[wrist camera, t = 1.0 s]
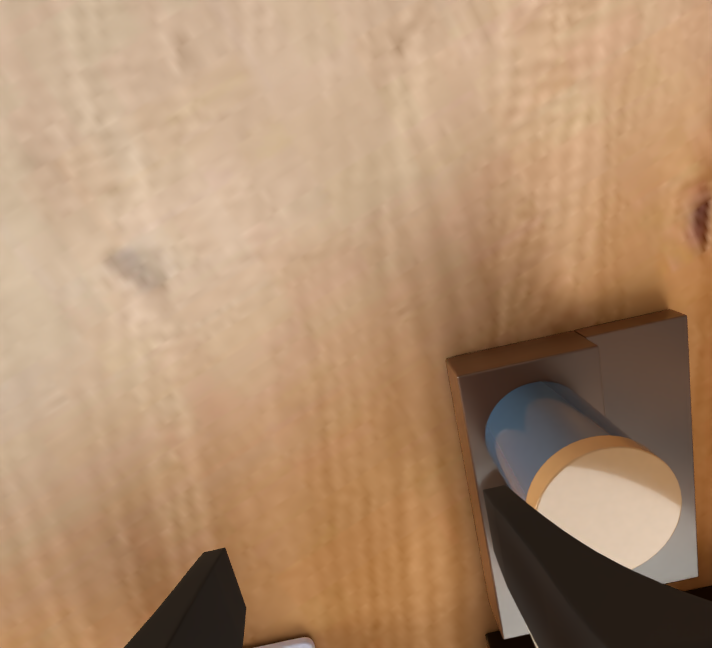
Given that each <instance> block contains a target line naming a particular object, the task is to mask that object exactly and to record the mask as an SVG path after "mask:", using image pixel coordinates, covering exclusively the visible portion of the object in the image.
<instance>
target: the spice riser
mask: <svg viewBox="0 0 712 648" xmlns="http://www.w3.org/2000/svg"><path fill="white" fill-rule="evenodd" d="M446 366H447V371H448V377H449V383H450V388H451V394H452V399H453V405H454V410H455V416H456V422H457V427H458V433H459V438H460V444H461V449H462V455H463V461H464V466H465V472H466V477H467V483H468V488H469V494H470V500H471V505H472V511H473V516H474V522H475V527H476V533H477V539H478V544H479V550H480V555H481V561H482V566H483V572H484V578H485V583H486V589H487V594H488V600H489V604H490V606H491V609H492V612H493V614H494V617H495V619H496V622H497V625H498V627H499V630H500V633H501V635H502V638H503V639H509V638H514V637H518V636H523V635H528V634H529V631H528V629H527V627H526V625H525V622H524V620H523V618H522V616H521V613H520V611H519V609H518V607H517V605H516V603H515V601H514V600H513V598H512V596H511V594H510V592H509V590H508V587H507V585H506V582H505V580H504V577H503V575H502V572H501V569H500V567H499V564H498V561H497V559H496V556H495V553H494V549H493V543H492V538H491V533H490V527H489V522H488V516H487V511H486V505H485V500H484V494H483V490H484V489H488V488H493V487H497V486H502V485H506V486H507V484H506V482H505V481H504V479H503V477H502V476H501V474H500V472H499V471H498V469H497V467H496V465H495V464H494V462H493V460H492V459H491V457H490V455H489V453H488V450H487V447H486V442H485V430H486V425H487V421H488V418H489V416H490V414H491V412H492V410H493V409H494V407H495V406H496V404H497V403H498V402H499V401H500V400H501V399H502V398H503V397H504V396H505V395H507V394H508V393H509V392H511V391H512V390H514V389H516V388H518V387H520V386H522V385H525V384H529V383H533V382H543V381H547V382H555V383H559V384H562V385H565V386H567V387H569V388H571V389H572V390H574V391H575V392H576V393H578V394H579V395H580V396H581V397H582V398H584V399H585V400H586V401H587V402H588V403H590V404H591V405H592V406H593V407H594V408H596V409H597V410H598V411H599V412H600V413H602V414H603V415H604V416H605V417H606V418H608V419H609V420H610V421H611V422H612V423H614V424H615V425H616V426H617V427H618V428H619V429H621V430H622V431H623V432H624V433H625V434H627V435H628V436H629V437H630V438H631V439H633V440H634V441H637V442H639V443H640V444H642V445H644V446H645V447H647V448H648V449H649V450H651V451H652V452H653V453H654V454H656V455H657V456H658V457H659V458H660V459H662V460H663V461H664V462H665V463H666V464H667V465H668V466H669V467H670V468H671V470H672V471H673V473H674V474H675V476H676V478H677V480H678V483H679V486H680V489H681V496H682V508H681V514H680V518H679V521H678V524H677V526H676V529H675V531H674V533H673V534H672V536H671V538H670V539H669V541H668V542H667V543H666V544H665V546H664V547H663V548H662V549H661V550H660V551H659V552H658V553H657V554H656V555H654V556H653V557H652V558H651V559H649V560H648V561H646V562H645V563H643V564H642V565H640V566H638V567H636V568H634V569H632V570H633V571H635V572H637V573H640V574H642V575H644V576H646V577H649V578H651V579H653V580H655V581H658V582H660V583H662V584H667V583H672V582H676V581H681V580H686V579H691V578H695V577H698V576H699V575H698V553H697V530H696V507H695V485H694V462H693V440H692V417H691V394H690V372H689V349H688V327H687V315H685V314H682V313H679V312H676V311H673V310H670V309H669V310H664V311H660V312H655V313H651V314H646V315H641V316H637V317H632V318H628V319H623V320H619V321H614V322H609V323H605V324H600V325H596V326H591V327H587V328H582V329H577V330H574V331H569V332H565V333H560V334H556V335H551V336H546V337H542V338H537V339H533V340H528V341H524V342H519V343H515V344H510V345H505V346H501V347H496V348H492V349H487V350H483V351H478V352H473V353H469V354H464V355H460V356H455V357H451V358H447V359H446ZM507 487H508V486H507Z"/></svg>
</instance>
